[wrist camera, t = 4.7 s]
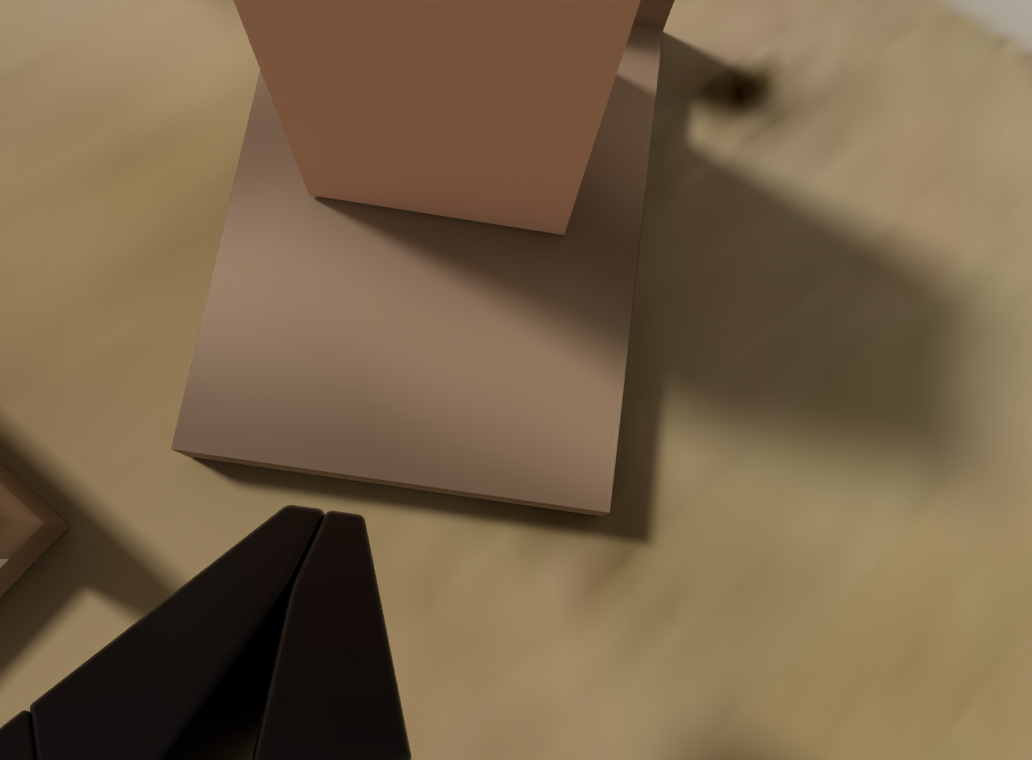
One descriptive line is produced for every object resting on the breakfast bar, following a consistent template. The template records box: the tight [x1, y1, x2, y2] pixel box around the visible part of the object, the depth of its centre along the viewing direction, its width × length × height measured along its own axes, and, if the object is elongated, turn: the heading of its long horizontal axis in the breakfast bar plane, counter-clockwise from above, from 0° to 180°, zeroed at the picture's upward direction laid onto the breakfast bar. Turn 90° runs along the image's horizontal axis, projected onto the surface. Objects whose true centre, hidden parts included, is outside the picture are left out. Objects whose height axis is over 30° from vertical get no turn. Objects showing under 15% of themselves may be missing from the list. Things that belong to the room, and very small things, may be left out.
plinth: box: [171, 0, 674, 516], centre depth 16 cm, size 11×8×3 cm
